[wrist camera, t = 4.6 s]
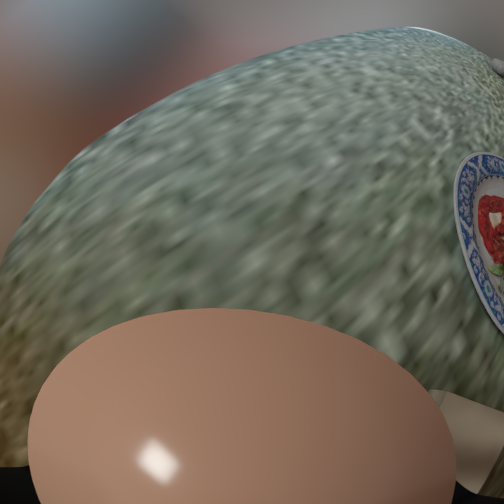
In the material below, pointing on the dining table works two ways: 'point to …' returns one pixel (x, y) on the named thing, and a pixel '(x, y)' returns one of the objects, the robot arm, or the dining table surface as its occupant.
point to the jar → (236, 417)
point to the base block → (472, 436)
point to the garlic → (498, 66)
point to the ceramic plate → (482, 227)
